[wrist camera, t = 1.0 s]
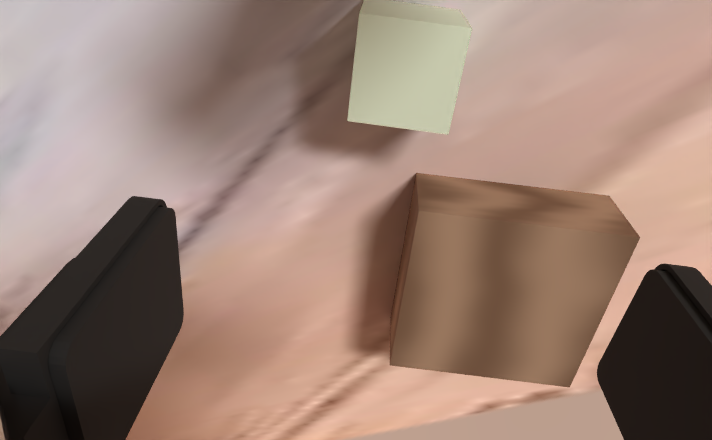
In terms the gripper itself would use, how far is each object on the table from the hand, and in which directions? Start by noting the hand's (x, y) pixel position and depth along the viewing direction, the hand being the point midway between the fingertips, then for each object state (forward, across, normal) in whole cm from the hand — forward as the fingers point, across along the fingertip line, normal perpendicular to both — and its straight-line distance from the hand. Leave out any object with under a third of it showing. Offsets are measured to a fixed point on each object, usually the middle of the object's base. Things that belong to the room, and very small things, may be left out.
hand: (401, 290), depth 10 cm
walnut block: (+21, -9, +13) cm, 26 cm away
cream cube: (+21, -1, 0) cm, 21 cm away
